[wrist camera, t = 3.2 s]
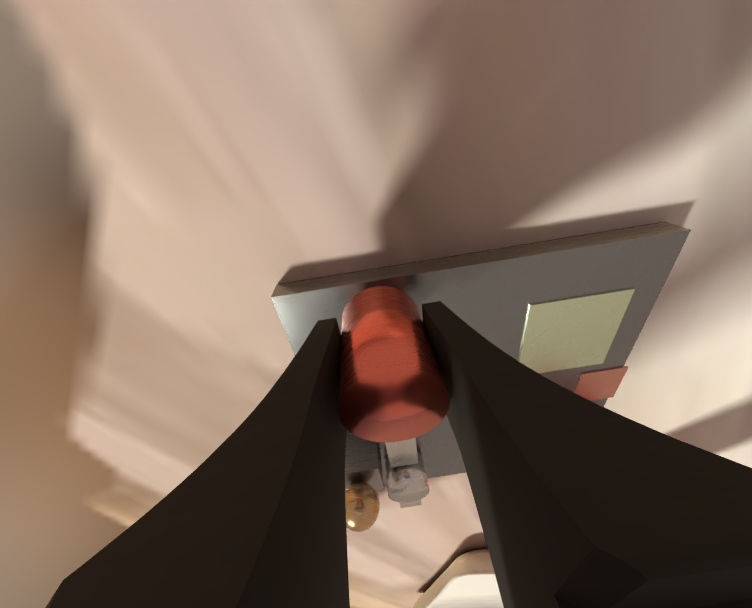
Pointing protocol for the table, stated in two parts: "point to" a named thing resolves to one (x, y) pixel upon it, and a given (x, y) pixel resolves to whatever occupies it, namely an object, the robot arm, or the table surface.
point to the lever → (390, 384)
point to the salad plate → (464, 584)
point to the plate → (507, 323)
